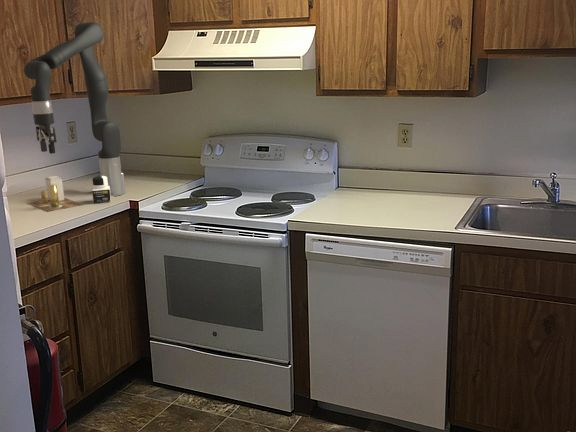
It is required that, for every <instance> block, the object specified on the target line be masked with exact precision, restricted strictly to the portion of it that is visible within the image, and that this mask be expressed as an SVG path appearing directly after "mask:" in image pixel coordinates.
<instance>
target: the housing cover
mask: <svg viewBox="0 0 576 432" xmlns="http://www.w3.org/2000/svg"><path fill="white" fill-rule="evenodd" d="M44 178H45V179H44V181H45V189H46V191H47V195H48V200H50V194H49V187H48V186H49V185H57V192H58V198H59V200H64V198H65V194H64V193H65V192H64V185H63V178H62V176H59V175H49V176H45V177H44ZM50 201H51V200H50Z"/></svg>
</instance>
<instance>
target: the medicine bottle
mask: <svg viewBox="0 0 576 432" xmlns="http://www.w3.org/2000/svg"><path fill="white" fill-rule="evenodd" d="M91 181H92V190H91V193H92V200H93V202H92V203H93V205H95V204H108V203H112V196H111V195H110V186H108V181H107V177H106V176H101V175H97V176H93V178H92V180H91Z"/></svg>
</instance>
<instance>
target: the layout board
mask: <svg viewBox="0 0 576 432" xmlns="http://www.w3.org/2000/svg"><path fill="white" fill-rule="evenodd" d="M40 194H41V195H40V196H41V200H36V201H30V202H26V203H25V204H27V205H29V206H31V207H34V208H36V209H38V210H41V211H44V212H45V213H50V212H55V211H59V210H64V209H69V208H75V207H80V206H85V204H83V203H80V202H78V201H75V200H73V199H70V198H67V197H64V200H59V205H60V206H59V207H51V201H50V200H48V195H47V190H43V191H41V192H40Z"/></svg>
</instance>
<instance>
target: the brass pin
mask: <svg viewBox="0 0 576 432" xmlns="http://www.w3.org/2000/svg"><path fill="white" fill-rule="evenodd" d="M48 187H49V194H50V200H51V207H59V206H60V205H59V198H58V192H57V185H49V186H48Z"/></svg>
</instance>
